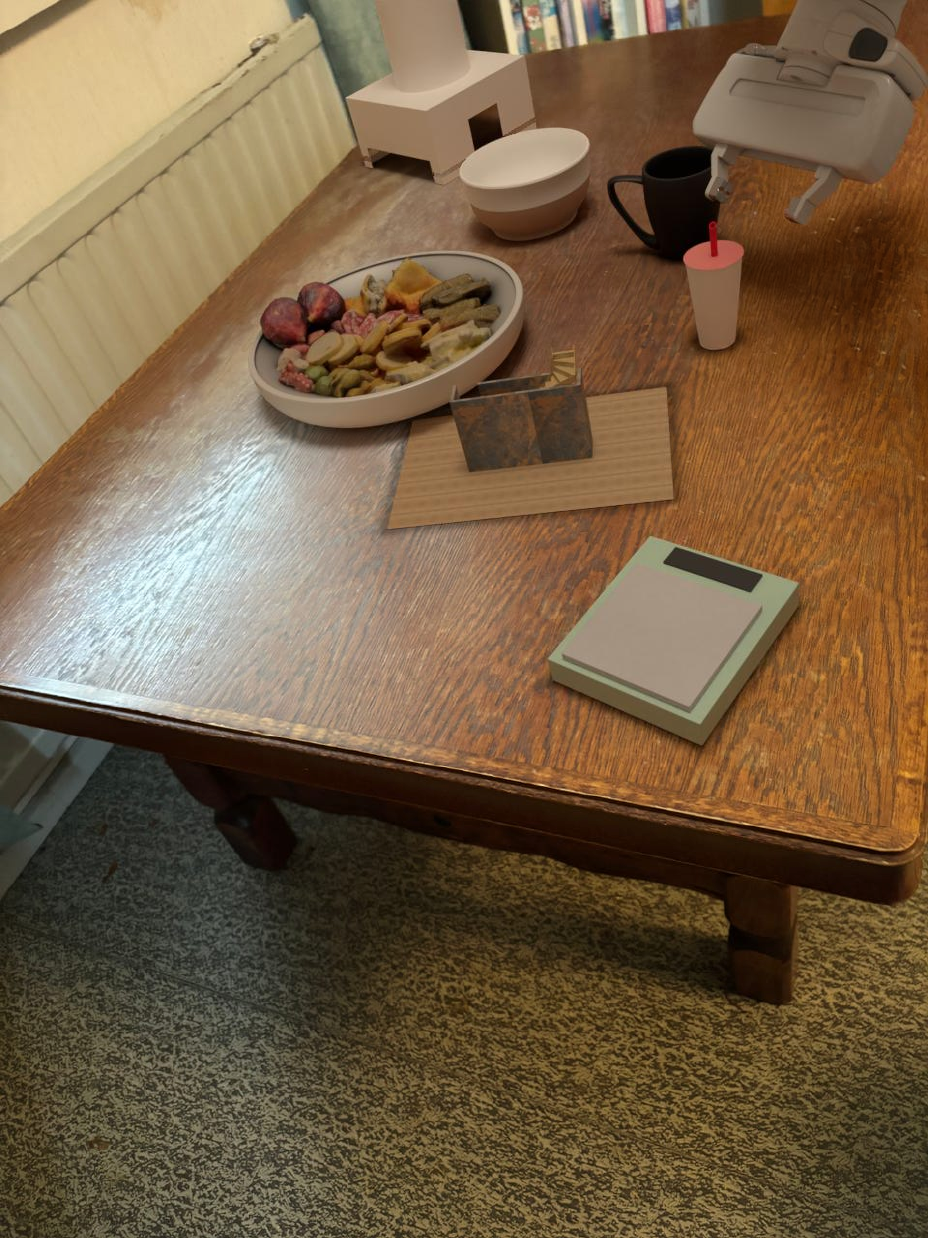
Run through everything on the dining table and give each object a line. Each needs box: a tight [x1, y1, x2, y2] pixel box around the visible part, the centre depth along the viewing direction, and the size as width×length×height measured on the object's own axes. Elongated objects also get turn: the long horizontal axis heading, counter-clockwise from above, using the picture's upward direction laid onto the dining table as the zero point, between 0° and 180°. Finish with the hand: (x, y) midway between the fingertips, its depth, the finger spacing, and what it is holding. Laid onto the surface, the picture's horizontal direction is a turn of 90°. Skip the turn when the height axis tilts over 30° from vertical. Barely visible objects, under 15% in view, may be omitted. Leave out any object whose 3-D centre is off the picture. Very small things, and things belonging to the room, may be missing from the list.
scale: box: [547, 535, 800, 746], centre depth 68 cm, size 12×14×3 cm
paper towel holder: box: [345, 0, 538, 186], centre depth 135 cm, size 19×19×30 cm
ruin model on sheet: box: [386, 345, 675, 530], centre depth 85 cm, size 25×16×10 cm, turn 84°
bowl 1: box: [247, 250, 526, 429], centre depth 102 cm, size 30×30×8 cm
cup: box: [682, 222, 745, 351], centre depth 90 cm, size 5×5×12 cm
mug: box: [606, 145, 721, 261], centre depth 105 cm, size 8×12×10 cm
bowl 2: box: [458, 127, 591, 242], centre depth 119 cm, size 16×16×8 cm
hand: (752, 210), depth 88 cm, fingers open, 8 cm apart
